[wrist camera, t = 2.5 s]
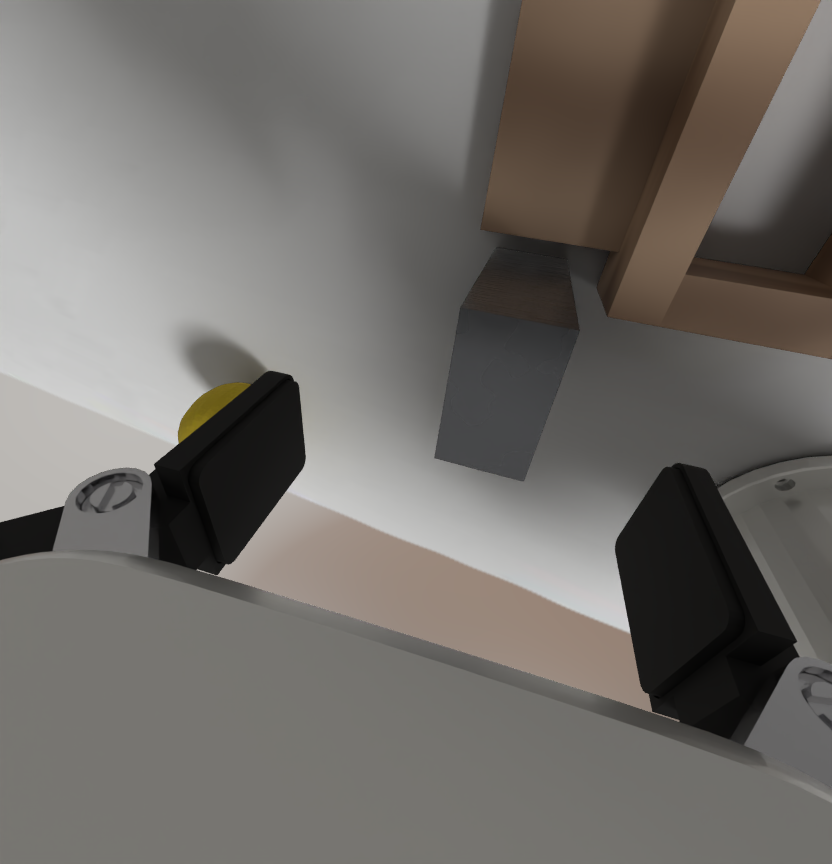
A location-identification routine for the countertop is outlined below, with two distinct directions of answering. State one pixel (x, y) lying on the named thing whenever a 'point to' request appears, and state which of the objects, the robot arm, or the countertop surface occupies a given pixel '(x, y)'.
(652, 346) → the countertop surface
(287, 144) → the countertop surface
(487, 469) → the bracket
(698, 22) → the socket
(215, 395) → the lemon
